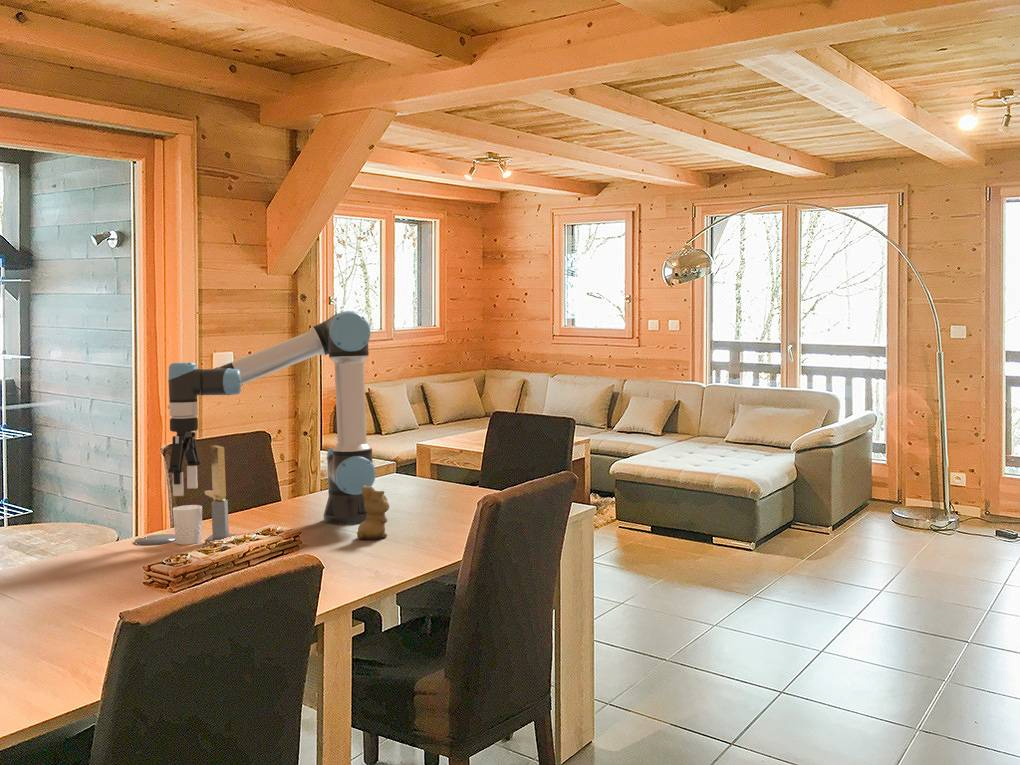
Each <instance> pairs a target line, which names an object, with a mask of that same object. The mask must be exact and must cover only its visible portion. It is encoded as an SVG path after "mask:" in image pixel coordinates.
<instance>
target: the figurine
mask: <svg viewBox="0 0 1020 765" xmlns="http://www.w3.org/2000/svg"><path fill="white" fill-rule="evenodd" d="M362 494H363V496H364V498H365V503H364V508H365V511H366V512H367V515H366V519H365V520H364V521H363V522H362V523H359V525H358V529H357V532H356V535H357V536H356V538H358V540H360V541H361V540H364V541H378V540H382V539H386V538H387V536H388V534H387V532H385V531H386V523H387V522H388V521H389V519H388V517H387V515H386V512H388V511H389V509H390V504H389V503H390V502H388V498H387V496H386V495H384V494H385V491H384V490H375V488H374V487H373V486H371V487H370V486H368V487H367V486H366V485H364V486H363V488H362Z"/></svg>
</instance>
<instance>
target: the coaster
mask: <svg viewBox="0 0 1020 765" xmlns="http://www.w3.org/2000/svg"><path fill="white" fill-rule="evenodd" d="M146 536H147V537H144V536H143V537H144V538H140V537H138V538H135V540H134V544H135V543H137V544H136V545H138V544H140V545H139V546H157V545H167V544H172V543H174V542H175V543H176V534H175V533H173V534H172V533H171V534H170V533H161V534H151V535H146ZM146 538H147V539H146Z"/></svg>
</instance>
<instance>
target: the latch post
mask: <svg viewBox="0 0 1020 765" xmlns="http://www.w3.org/2000/svg"><path fill="white" fill-rule="evenodd" d="M228 501H229V500H228V499H225V500H224V501H214V500H213V501H211V504H210V505H211V522H212V524H211V525H212V534H211V535H210V536H208V537H207V538H206V539H204V544H205V543H207V542H210V541H215V540H221V539H224V538H227V537H231V536H235V535H236V536H237V534H236V533H230V531H229V530H230V529H229V502H228Z"/></svg>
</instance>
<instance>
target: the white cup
mask: <svg viewBox="0 0 1020 765" xmlns="http://www.w3.org/2000/svg"><path fill="white" fill-rule="evenodd" d="M172 518H173V527H174V534H175V535H176V541H175V543H176V544H177V545H184V546H185V545H187V546H188V545H194V544H199V543H201V542H202V532H203V531H202V530H203V505H200V504H190V505H189V504H186V505H180V506H174V507H173V508H172Z"/></svg>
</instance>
